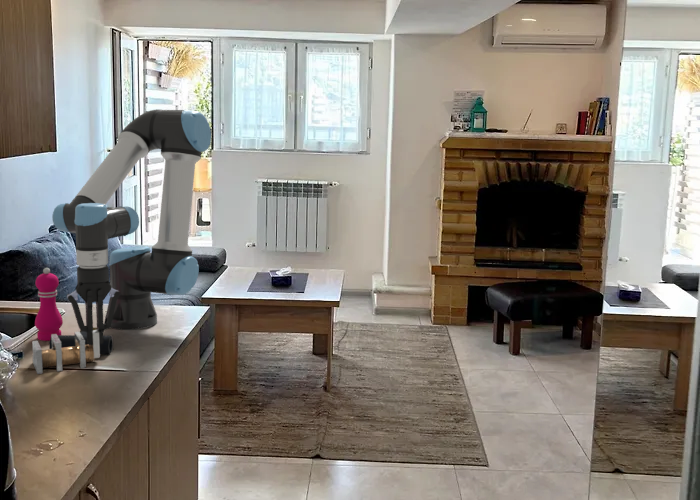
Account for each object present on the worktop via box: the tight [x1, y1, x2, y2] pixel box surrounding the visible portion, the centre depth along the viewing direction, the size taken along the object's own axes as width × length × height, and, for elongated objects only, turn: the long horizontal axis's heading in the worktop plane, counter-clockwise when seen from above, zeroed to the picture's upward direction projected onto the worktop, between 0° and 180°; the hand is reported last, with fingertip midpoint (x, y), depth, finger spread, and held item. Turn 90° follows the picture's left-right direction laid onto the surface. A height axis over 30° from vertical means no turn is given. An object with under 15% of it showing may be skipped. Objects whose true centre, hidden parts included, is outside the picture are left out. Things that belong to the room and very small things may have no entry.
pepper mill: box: [34, 267, 64, 342], centre depth 206 cm, size 7×7×20 cm
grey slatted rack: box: [31, 331, 87, 375], centre depth 185 cm, size 11×9×7 cm
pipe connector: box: [48, 327, 114, 356], centre depth 198 cm, size 12×5×15 cm
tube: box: [42, 345, 95, 369], centre depth 186 cm, size 12×4×4 cm, turn 119°
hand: (95, 356), depth 189 cm, fingers closed
